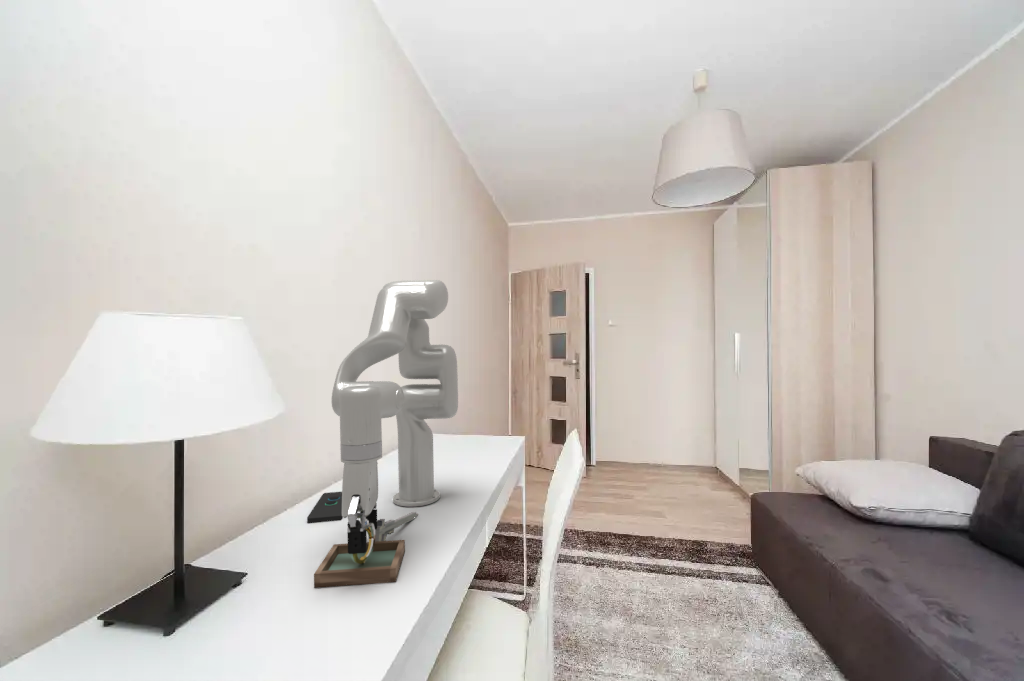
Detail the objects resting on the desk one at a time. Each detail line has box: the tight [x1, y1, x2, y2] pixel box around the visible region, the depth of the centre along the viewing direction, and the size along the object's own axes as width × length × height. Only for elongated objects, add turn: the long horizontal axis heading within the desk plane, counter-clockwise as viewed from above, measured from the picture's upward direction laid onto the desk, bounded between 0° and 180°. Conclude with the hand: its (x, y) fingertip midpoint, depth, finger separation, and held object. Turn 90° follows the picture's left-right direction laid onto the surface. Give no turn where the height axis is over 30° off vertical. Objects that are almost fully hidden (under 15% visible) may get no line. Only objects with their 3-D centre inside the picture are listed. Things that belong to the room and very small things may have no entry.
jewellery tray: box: [313, 539, 406, 589], centre depth 85 cm, size 12×14×2 cm
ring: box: [351, 519, 376, 564], centre depth 85 cm, size 7×3×8 cm, turn 163°
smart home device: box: [306, 491, 344, 524], centre depth 118 cm, size 8×2×20 cm
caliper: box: [375, 511, 419, 542], centre depth 101 cm, size 21×1×6 cm, turn 170°
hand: (363, 540), depth 85 cm, fingers open, 9 cm apart
